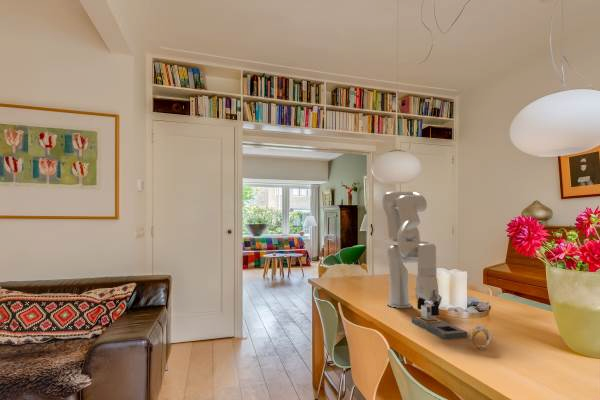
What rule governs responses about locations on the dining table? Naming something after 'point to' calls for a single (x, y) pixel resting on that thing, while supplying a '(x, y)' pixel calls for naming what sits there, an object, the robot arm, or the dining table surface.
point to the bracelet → (476, 333)
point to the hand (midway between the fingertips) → (427, 312)
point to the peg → (426, 313)
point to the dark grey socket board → (440, 328)
